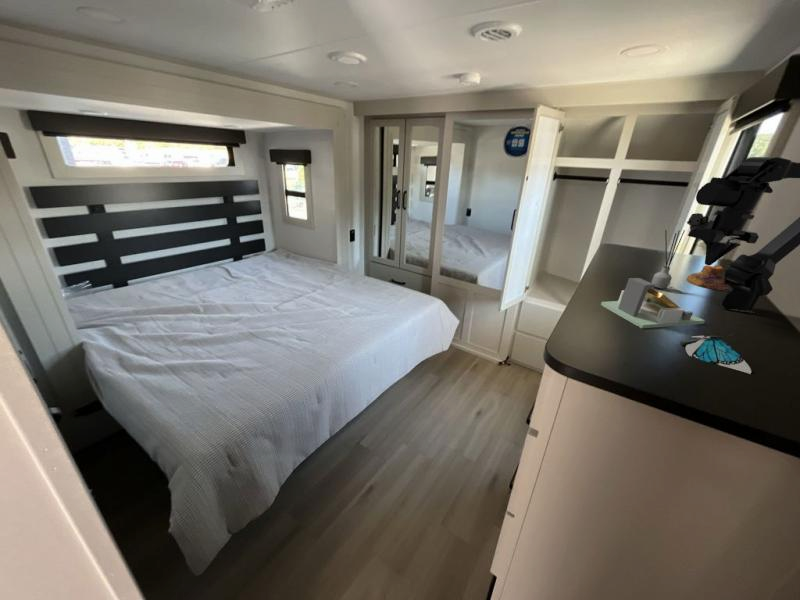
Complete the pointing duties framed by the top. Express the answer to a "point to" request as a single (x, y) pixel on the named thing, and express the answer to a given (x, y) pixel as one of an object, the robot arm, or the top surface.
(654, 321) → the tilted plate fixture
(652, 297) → the gold rectangular plate
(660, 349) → the top surface
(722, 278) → the brown piece
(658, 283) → the reed diffuser
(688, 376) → the top surface
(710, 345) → the decorative butterfly
